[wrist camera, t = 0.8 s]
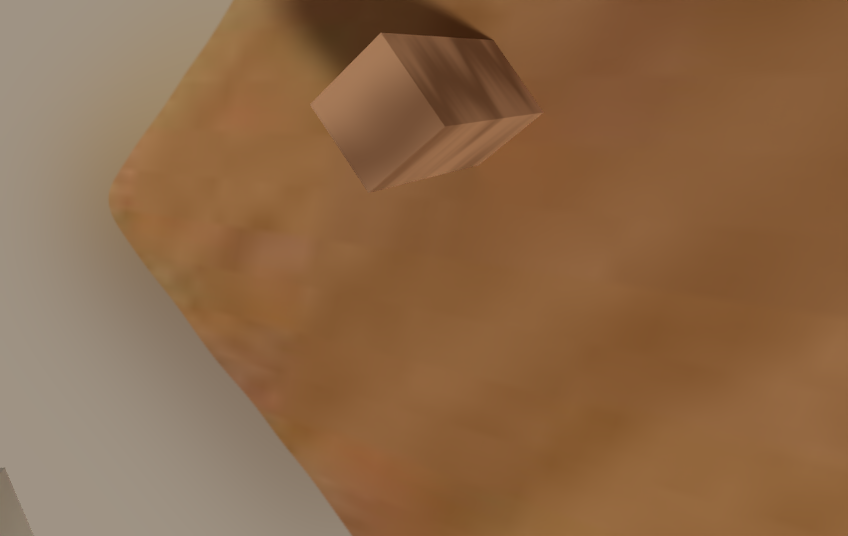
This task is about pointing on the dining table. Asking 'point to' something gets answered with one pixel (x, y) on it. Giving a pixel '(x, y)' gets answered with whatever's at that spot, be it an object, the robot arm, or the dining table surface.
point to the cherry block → (423, 107)
